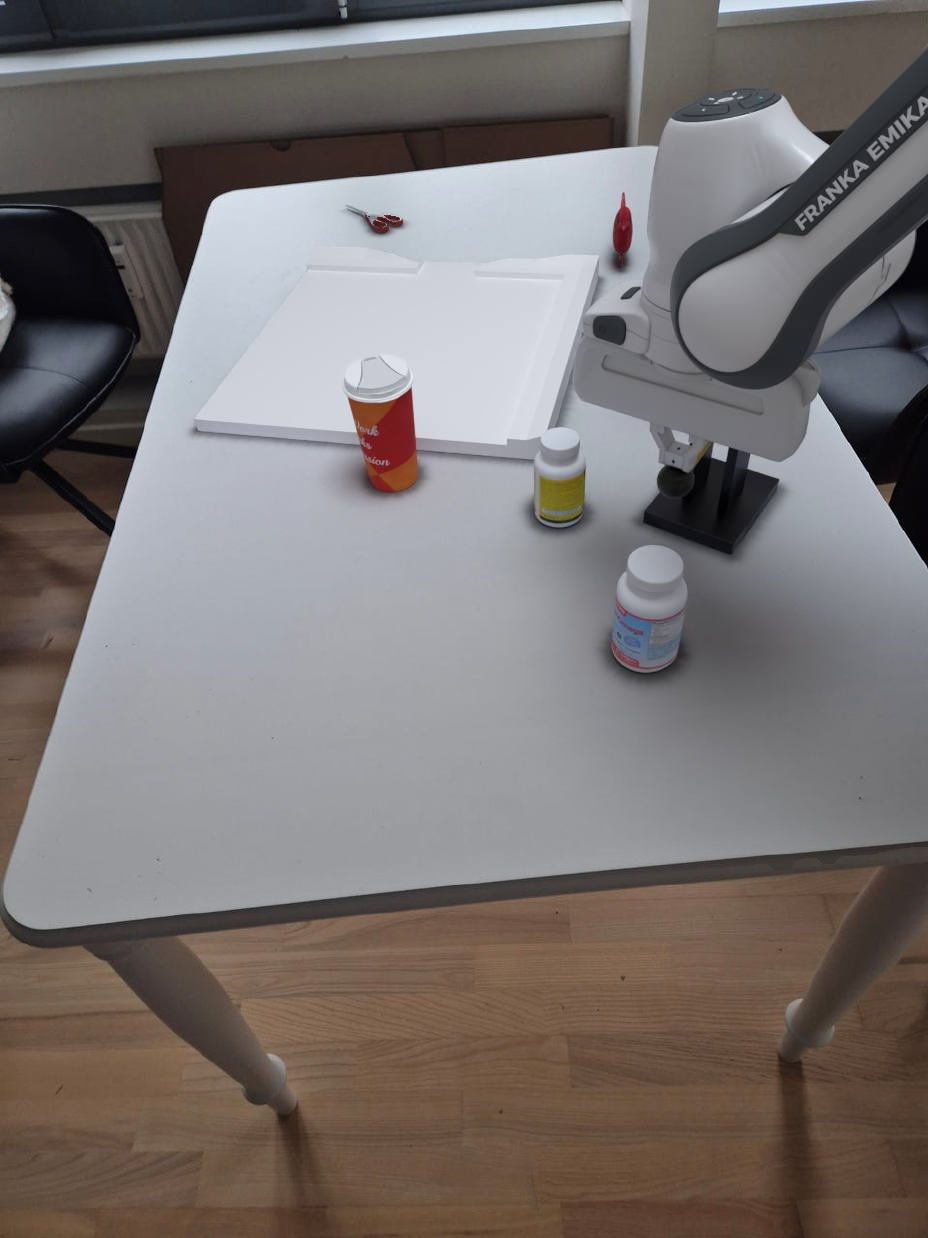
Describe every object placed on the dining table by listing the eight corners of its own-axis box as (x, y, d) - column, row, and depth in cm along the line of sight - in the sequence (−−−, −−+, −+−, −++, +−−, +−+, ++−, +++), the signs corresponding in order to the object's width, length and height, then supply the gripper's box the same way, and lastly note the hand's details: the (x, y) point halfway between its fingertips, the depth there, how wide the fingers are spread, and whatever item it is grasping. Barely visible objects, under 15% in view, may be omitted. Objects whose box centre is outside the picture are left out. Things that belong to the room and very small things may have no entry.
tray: (198, 430, 110) (189, 406, 108) (319, 267, 139) (315, 245, 137) (545, 460, 101) (545, 435, 98) (598, 278, 130) (599, 255, 127)
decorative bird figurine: (610, 283, 129) (614, 214, 121) (612, 231, 140) (615, 166, 133) (630, 282, 128) (635, 214, 121) (630, 231, 140) (634, 165, 133)
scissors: (380, 234, 146) (380, 228, 145) (334, 212, 154) (333, 207, 153) (405, 223, 148) (405, 217, 148) (358, 202, 156) (357, 197, 155)
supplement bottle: (593, 520, 93) (596, 445, 86) (547, 535, 92) (547, 460, 85) (570, 491, 97) (571, 417, 89) (526, 505, 95) (524, 431, 88)
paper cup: (355, 466, 103) (333, 361, 92) (417, 450, 104) (402, 345, 94) (370, 505, 98) (348, 398, 87) (435, 488, 99) (421, 381, 88)
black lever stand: (731, 554, 88) (754, 442, 78) (642, 521, 92) (653, 411, 82) (776, 489, 94) (803, 378, 84) (691, 461, 98) (707, 352, 88)
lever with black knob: (683, 511, 79) (685, 483, 77) (649, 499, 81) (650, 472, 78) (747, 421, 86) (751, 393, 83) (715, 411, 87) (718, 383, 84)
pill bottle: (599, 638, 82) (605, 551, 73) (657, 618, 83) (668, 530, 74) (630, 684, 78) (640, 597, 69) (690, 662, 79) (706, 574, 71)
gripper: (841, 336, 65) (802, 481, 75) (602, 279, 74) (596, 415, 84) (811, 376, 62) (774, 522, 72) (564, 311, 71) (563, 449, 81)
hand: (676, 464), depth 78 cm, fingers closed
